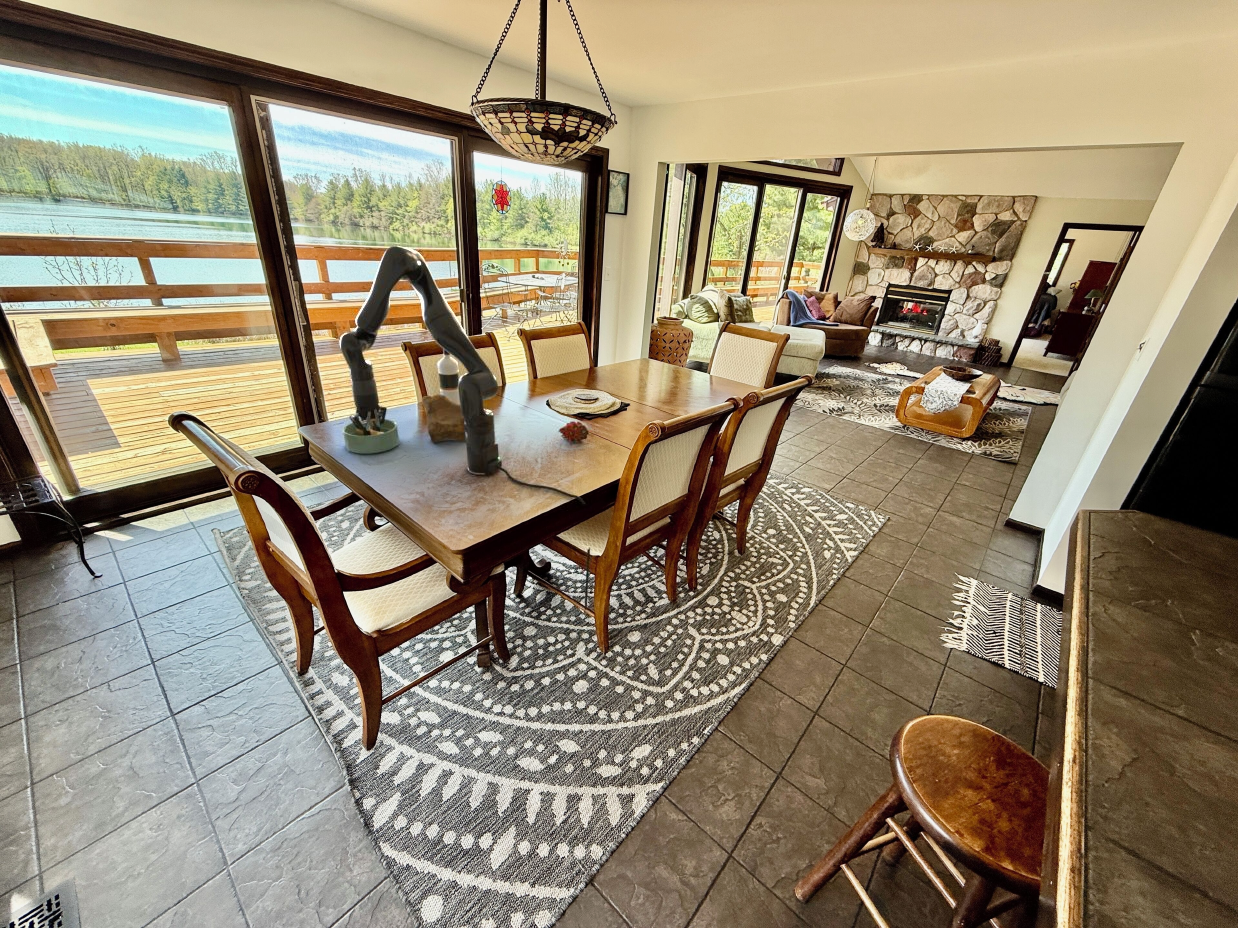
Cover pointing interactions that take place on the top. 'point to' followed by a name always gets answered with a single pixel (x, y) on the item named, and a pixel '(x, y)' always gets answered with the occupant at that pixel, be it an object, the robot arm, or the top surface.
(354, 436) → the green pet bowl
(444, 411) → the rough brown rock
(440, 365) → the vodka
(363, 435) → the drumstick
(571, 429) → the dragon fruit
